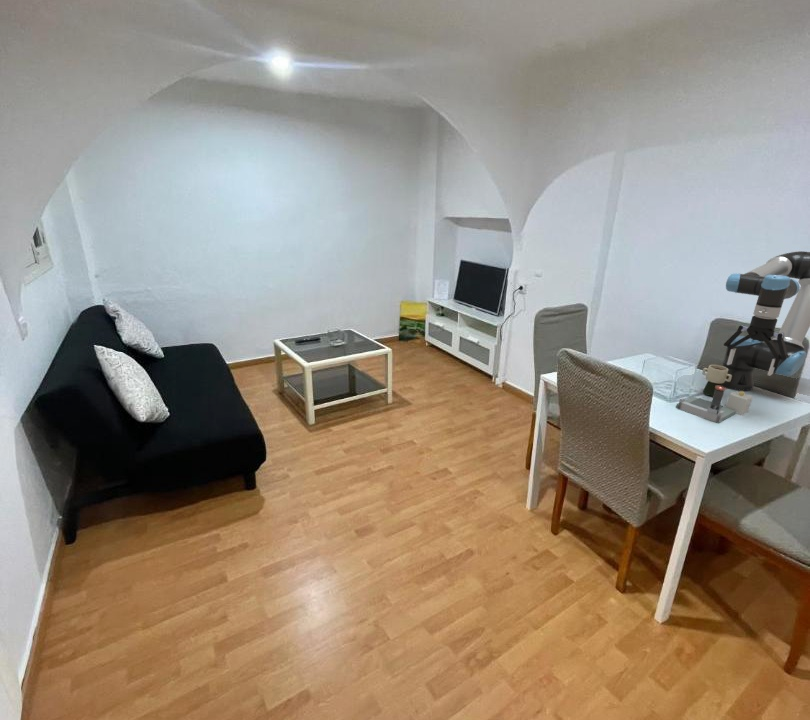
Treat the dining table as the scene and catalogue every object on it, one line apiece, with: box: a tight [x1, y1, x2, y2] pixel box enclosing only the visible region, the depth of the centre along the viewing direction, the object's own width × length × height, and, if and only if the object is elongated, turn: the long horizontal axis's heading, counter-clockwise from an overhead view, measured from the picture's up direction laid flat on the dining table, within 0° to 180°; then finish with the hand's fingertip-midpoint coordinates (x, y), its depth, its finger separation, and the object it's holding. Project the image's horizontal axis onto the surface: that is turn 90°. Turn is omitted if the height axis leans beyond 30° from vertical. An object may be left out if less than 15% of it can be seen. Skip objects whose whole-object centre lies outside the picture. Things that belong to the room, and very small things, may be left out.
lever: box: [707, 385, 727, 415], centre depth 165 cm, size 3×3×11 cm
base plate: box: [675, 396, 736, 424], centre depth 174 cm, size 15×16×4 cm
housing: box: [725, 390, 754, 416], centre depth 174 cm, size 6×6×9 cm
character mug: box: [701, 364, 732, 397], centre depth 188 cm, size 11×7×13 cm, turn 36°
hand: (748, 369), depth 169 cm, fingers open, 13 cm apart
